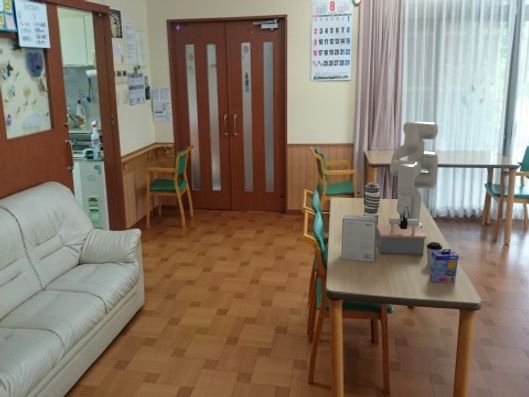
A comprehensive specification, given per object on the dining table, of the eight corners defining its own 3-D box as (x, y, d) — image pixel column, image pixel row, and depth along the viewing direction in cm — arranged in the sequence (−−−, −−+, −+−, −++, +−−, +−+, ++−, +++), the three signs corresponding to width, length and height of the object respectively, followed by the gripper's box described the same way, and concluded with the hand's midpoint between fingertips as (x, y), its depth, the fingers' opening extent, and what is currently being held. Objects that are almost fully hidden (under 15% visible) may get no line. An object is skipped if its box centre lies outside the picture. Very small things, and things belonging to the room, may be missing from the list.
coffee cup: (438, 268, 228) (440, 247, 225) (423, 265, 231) (424, 244, 229) (442, 263, 234) (444, 243, 231) (427, 260, 237) (428, 240, 235)
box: (376, 243, 259) (377, 226, 257) (416, 244, 258) (418, 227, 255) (380, 254, 245) (381, 236, 243) (423, 255, 243) (424, 237, 241)
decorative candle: (362, 223, 292) (364, 181, 285) (379, 224, 289) (381, 182, 283) (361, 228, 283) (363, 184, 277) (378, 229, 281) (380, 185, 274)
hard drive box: (376, 256, 242) (378, 216, 237) (374, 262, 235) (376, 221, 230) (343, 253, 247) (345, 213, 242) (340, 258, 240) (342, 218, 235)
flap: (376, 226, 257) (377, 210, 255) (419, 227, 255) (420, 211, 253) (380, 237, 242) (381, 220, 239) (426, 238, 240) (427, 221, 238)
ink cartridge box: (433, 283, 213) (436, 250, 209) (428, 277, 218) (431, 246, 215) (456, 282, 214) (459, 249, 210) (450, 276, 219) (453, 245, 215)
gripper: (394, 186, 246) (392, 222, 251) (400, 194, 230) (397, 233, 235) (410, 186, 245) (407, 222, 250) (417, 194, 230) (414, 233, 234)
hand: (402, 227), depth 243 cm, fingers closed on flap, 2 cm apart
